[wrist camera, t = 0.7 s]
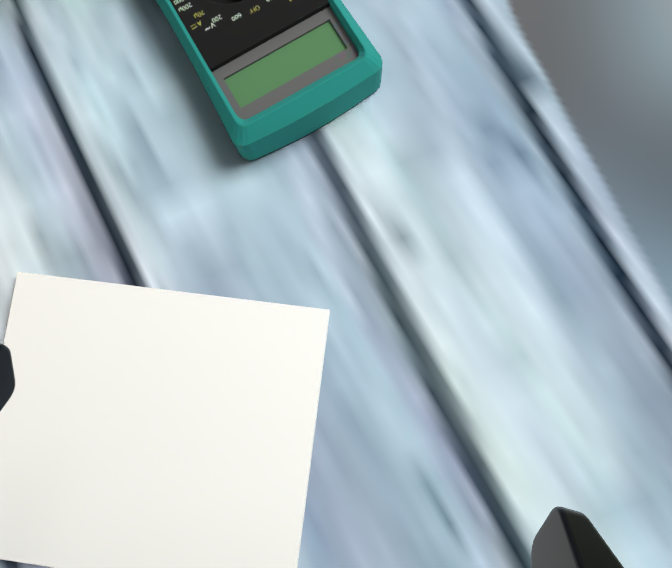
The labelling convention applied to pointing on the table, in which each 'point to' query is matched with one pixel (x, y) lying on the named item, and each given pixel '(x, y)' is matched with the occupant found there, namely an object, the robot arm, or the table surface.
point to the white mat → (156, 427)
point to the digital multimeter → (275, 65)
